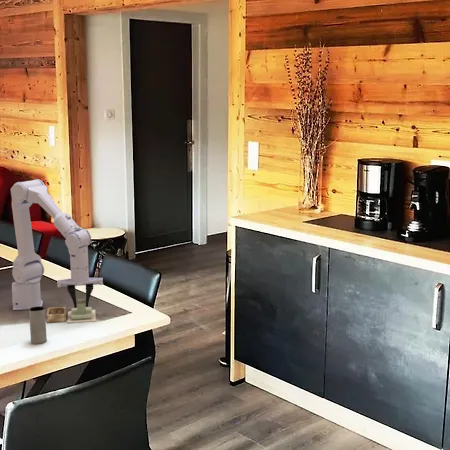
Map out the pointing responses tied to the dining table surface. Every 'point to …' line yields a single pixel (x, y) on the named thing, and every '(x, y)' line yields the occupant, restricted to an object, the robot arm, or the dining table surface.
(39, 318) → the cardboard tube
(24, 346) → the dining table surface
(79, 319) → the mat
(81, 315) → the lid
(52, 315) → the box
